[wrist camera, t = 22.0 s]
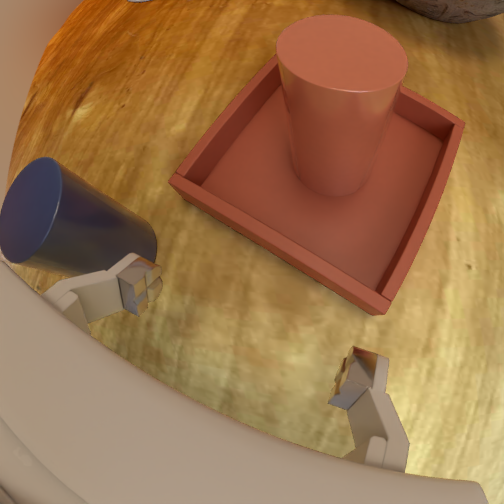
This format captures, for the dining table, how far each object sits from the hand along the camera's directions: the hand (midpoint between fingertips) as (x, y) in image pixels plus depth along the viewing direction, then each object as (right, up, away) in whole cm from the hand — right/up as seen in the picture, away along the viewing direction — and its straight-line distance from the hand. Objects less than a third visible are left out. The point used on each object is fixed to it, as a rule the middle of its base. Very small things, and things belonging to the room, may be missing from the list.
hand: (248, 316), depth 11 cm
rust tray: (+6, +9, +9) cm, 13 cm away
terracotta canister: (+6, +9, +8) cm, 13 cm away
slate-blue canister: (-9, +2, +10) cm, 14 cm away
